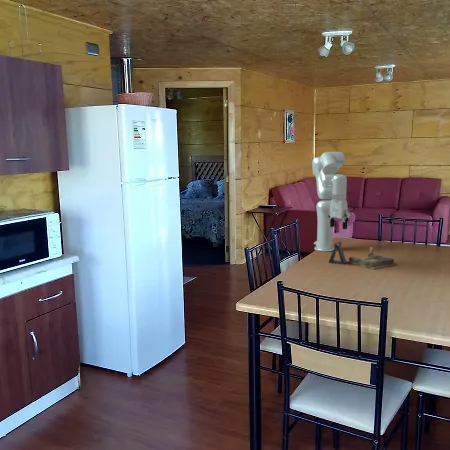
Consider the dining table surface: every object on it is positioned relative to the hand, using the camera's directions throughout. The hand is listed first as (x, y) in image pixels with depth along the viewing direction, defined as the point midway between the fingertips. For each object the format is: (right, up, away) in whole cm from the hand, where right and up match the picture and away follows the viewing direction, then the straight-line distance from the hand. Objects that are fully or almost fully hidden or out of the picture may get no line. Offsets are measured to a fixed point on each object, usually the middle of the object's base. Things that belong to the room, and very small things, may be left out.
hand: (338, 227), depth 266 cm
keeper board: (+19, -20, 0) cm, 28 cm away
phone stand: (0, -20, +4) cm, 20 cm away
